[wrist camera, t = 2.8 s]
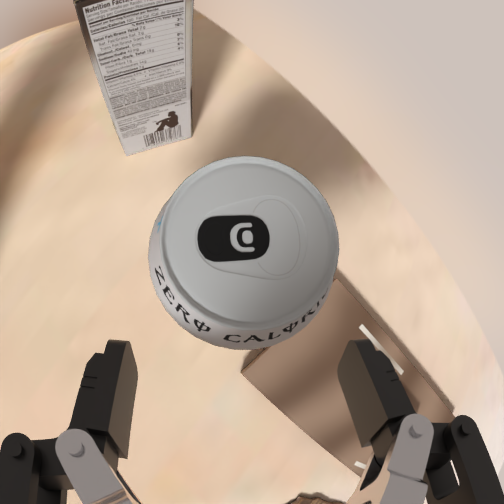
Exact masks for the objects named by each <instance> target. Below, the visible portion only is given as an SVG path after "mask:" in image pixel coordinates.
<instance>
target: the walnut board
mask: <svg viewBox="0 0 504 504" xmlns="http://www.w3.org/2000/svg"><path fill="white" fill-rule="evenodd" d="M366 338H368V339H370V340H371V341H372V343H373V345H374V347H375V349H376V351H379V350H381V351H382V352H383V353H384V354H385V355H386V356H387V357H388V358H389V359H390V361H391V363H392V365H393V367H394V369H395V372H396V373H397V375H398V377H399V381H401V383H402V385H403V387H404V389H405V391H406V393H407V395H408V397H409V399H410V402H411V404H412V406H413V408H414V410H415V412H416V413H417V414H421V415H423V416H425V417H426V418H428V419H429V420H430V422H433V423H450V422H451V421H452V420H453V419H454V418H455V416H454V415H453V414H452V413H451V411H450V410H449V409H448V408H447V406H446V405H445V404H444V403H443V401H442V400H441V399H440V398H439V396H438V395H437V394H436V393H435V391H434V390H433V389H432V388H431V386H430V385H429V384H428V383H427V381H426V380H425V379H424V378H423V377H422V375H421V374H420V373H419V372H418V371H417V369H416V368H415V367H414V366H413V365H412V363H411V362H410V361H409V360H408V359H407V357H406V356H405V355H404V354H403V353H402V351H401V350H400V349H399V348H398V347H397V346H396V344H395V343H394V342H393V341H392V340H391V339H390V337H389V336H388V335H387V334H386V333H385V332H384V330H383V329H382V328H381V327H380V326H379V325H378V324H377V322H376V321H375V320H374V319H373V318H372V317H371V316H370V314H369V313H368V312H367V311H366V310H365V309H364V308H363V307H362V305H361V304H360V303H359V302H358V301H357V300H356V299H355V298H354V296H353V295H352V294H351V293H350V292H349V291H348V290H347V289H346V288H345V287H344V285H343V284H342V283H341V282H340V281H339V280H338V279H334V280H333V283H332V286H331V288H330V291H329V294H328V297H327V299H326V301H325V302H324V304H323V306H322V308H321V309H320V311H319V312H318V314H317V315H316V316H315V317H314V318H313V319H312V321H311V322H310V323H309V324H308V325H307V326H306V327H305V328H304V329H302V330H301V331H299V332H298V333H297V334H295V335H294V336H292V337H291V338H289V339H287V340H285V341H282V342H280V343H278V344H275V345H273V346H269V347H267V348H265V349H264V350H263V351H262V352H261V353H260V354H259V355H258V356H257V357H256V358H255V359H254V360H253V361H252V362H251V363H250V364H249V365H248V366H247V367H246V368H244V369H243V370H242V371H241V373H242V375H243V376H244V377H245V378H246V379H247V380H249V381H250V382H251V383H252V384H253V385H254V386H255V387H256V388H257V389H258V390H259V391H260V392H261V393H262V394H263V395H264V396H265V397H266V398H267V399H268V400H270V401H271V402H272V403H273V404H274V405H275V406H276V407H277V408H278V409H279V410H280V411H281V412H283V413H284V414H285V415H286V416H287V417H288V418H289V419H290V420H292V421H293V422H294V423H295V424H296V425H297V426H298V427H299V428H301V429H302V430H303V431H304V432H305V433H306V434H308V435H309V436H310V437H311V438H312V439H313V440H315V441H316V442H317V443H318V444H319V445H321V446H322V447H323V448H324V449H325V450H327V451H328V452H329V453H330V454H332V455H333V456H334V457H335V458H337V459H338V460H339V461H340V462H342V463H343V464H344V465H345V466H347V467H348V468H349V469H350V470H352V471H353V472H354V473H356V474H357V475H358V476H360V477H362V474H363V472H364V470H365V467H366V465H367V463H368V460H369V458H370V455H371V453H372V452H373V448H372V446H368V447H363V448H362V447H361V444H360V441H359V438H358V435H357V432H356V429H355V426H354V423H353V420H352V417H351V414H350V411H349V408H348V406H347V403H346V400H345V397H344V394H343V391H342V388H341V385H340V383H339V380H338V375H337V368H338V364H339V362H340V360H341V357H342V355H343V353H344V351H345V348H346V346H347V344H348V342H349V341H350V340H356V339H366Z"/></svg>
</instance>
